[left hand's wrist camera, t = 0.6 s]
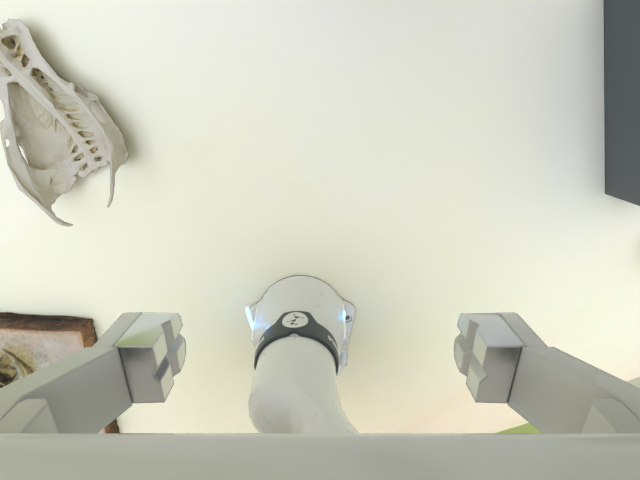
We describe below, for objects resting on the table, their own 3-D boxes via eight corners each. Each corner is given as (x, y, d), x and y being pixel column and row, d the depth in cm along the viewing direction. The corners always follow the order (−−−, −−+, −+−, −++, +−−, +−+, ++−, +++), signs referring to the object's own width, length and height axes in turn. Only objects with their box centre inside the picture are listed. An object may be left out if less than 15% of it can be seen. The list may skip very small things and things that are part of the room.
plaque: (68, 342, 57) (100, 471, 68) (94, 316, 63) (120, 437, 75) (-126, 331, 57) (-61, 462, 68) (-79, 306, 63) (-27, 430, 74)
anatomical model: (44, 238, 48) (-114, 49, 39) (84, 215, 57) (-38, 55, 48) (137, 194, 46) (-7, -17, 37) (163, 177, 55) (52, 1, 45)
